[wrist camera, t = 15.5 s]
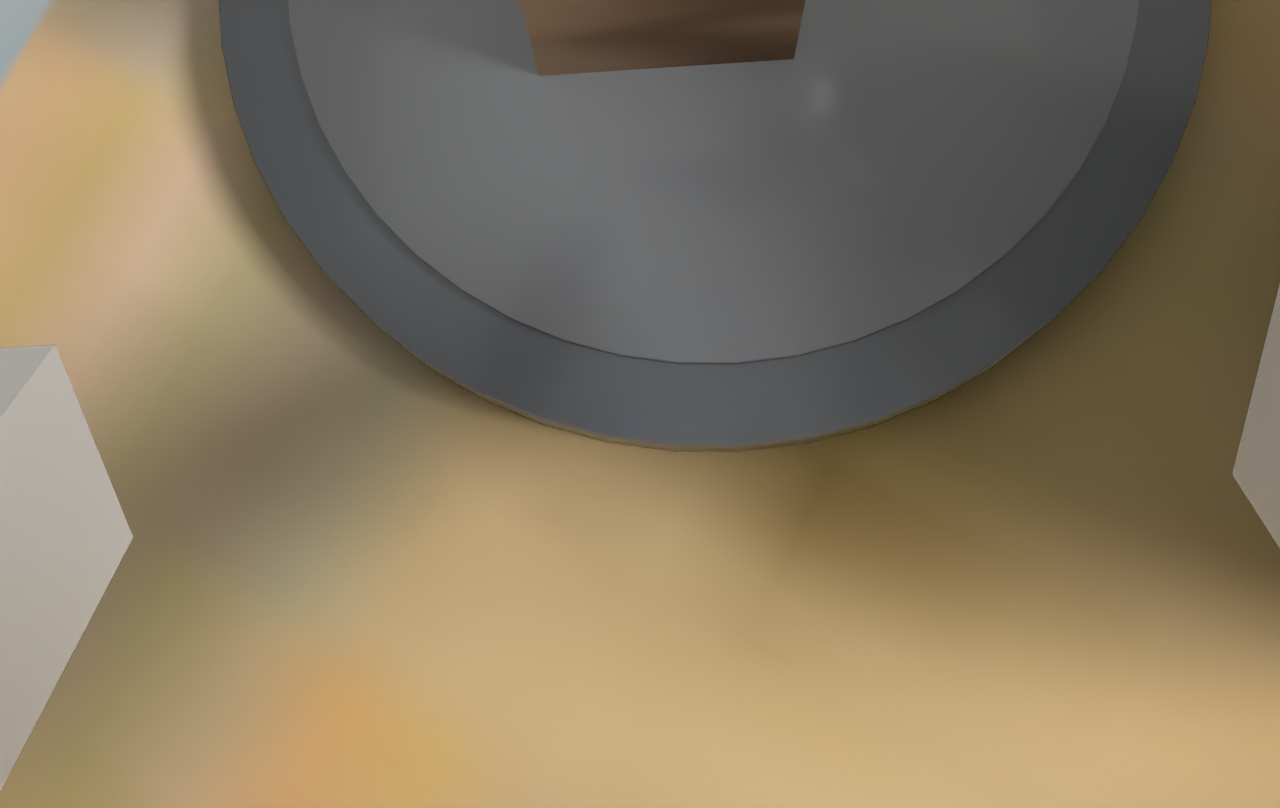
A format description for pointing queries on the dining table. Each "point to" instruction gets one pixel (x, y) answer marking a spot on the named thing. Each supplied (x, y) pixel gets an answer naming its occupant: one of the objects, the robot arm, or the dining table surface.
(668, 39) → the walnut block
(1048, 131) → the dish
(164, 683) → the dining table surface
